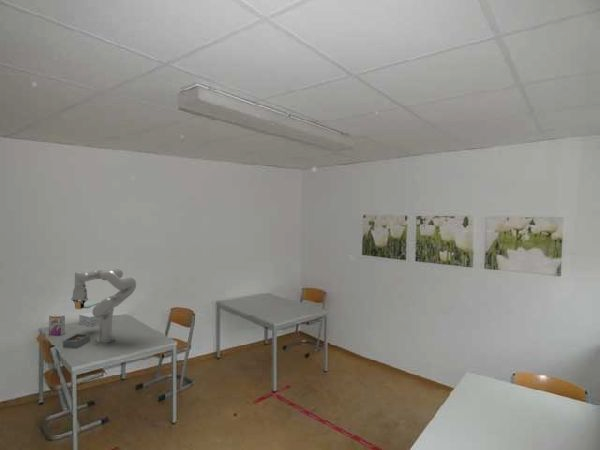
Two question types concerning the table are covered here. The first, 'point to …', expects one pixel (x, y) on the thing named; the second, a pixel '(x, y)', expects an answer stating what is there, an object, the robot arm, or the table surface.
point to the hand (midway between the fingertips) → (79, 307)
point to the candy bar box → (56, 324)
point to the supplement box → (88, 319)
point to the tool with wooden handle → (85, 304)
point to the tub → (76, 344)
